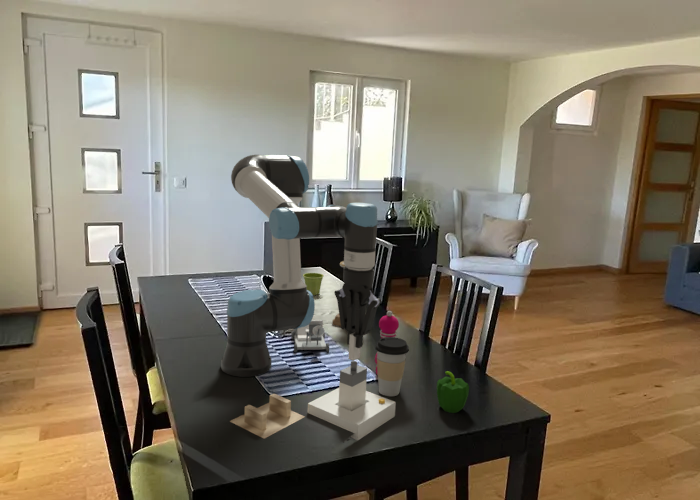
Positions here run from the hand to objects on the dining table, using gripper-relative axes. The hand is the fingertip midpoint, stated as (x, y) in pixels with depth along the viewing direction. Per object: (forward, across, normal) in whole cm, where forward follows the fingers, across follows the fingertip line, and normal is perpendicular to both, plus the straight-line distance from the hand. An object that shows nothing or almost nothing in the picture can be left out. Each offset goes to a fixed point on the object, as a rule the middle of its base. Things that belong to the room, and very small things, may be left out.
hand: (354, 358), depth 140 cm
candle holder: (+17, -46, +59) cm, 76 cm away
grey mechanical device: (+17, -41, +30) cm, 53 cm away
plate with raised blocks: (+16, -13, -17) cm, 27 cm away
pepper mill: (+16, -9, +29) cm, 34 cm away
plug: (+15, 0, 0) cm, 15 cm away
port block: (+16, 0, 0) cm, 16 cm away
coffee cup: (+16, -1, +19) cm, 25 cm away
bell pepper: (+16, +17, +22) cm, 32 cm away
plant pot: (+17, -84, +80) cm, 117 cm away
